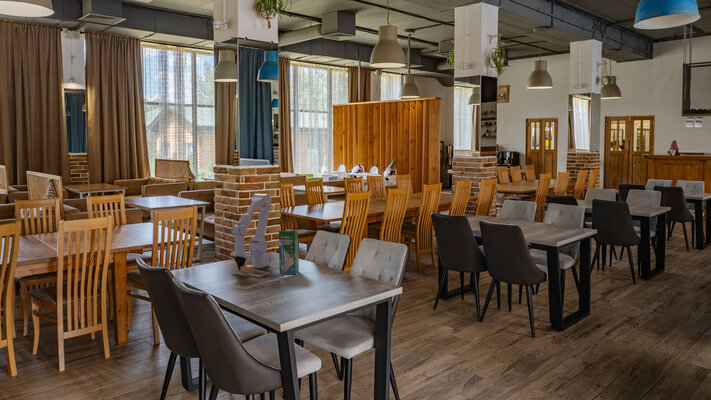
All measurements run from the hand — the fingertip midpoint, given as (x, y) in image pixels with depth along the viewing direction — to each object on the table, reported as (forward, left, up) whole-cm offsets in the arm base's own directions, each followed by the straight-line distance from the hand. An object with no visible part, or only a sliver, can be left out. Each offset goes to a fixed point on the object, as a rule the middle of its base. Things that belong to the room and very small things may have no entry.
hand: (240, 269), depth 302 cm
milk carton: (-17, +21, -3) cm, 27 cm away
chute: (0, +11, -2) cm, 11 cm away
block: (0, +6, -1) cm, 6 cm away
